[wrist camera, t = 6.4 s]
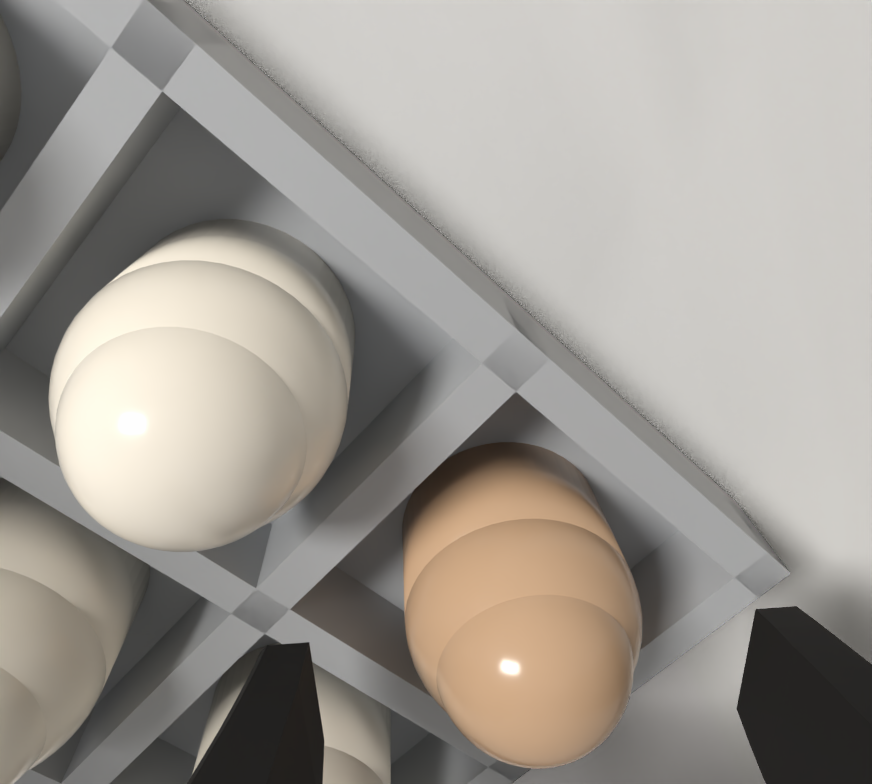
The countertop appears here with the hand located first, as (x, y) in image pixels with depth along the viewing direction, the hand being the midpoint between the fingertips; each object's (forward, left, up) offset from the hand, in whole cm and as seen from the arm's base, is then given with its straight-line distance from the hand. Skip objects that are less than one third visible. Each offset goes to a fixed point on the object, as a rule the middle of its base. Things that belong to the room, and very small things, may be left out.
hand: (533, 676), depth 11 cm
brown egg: (0, 0, -4) cm, 4 cm away
